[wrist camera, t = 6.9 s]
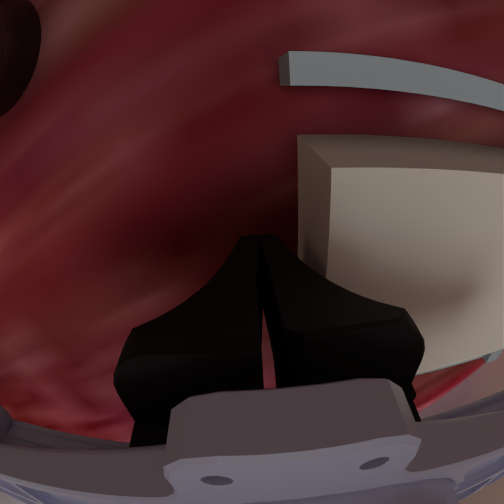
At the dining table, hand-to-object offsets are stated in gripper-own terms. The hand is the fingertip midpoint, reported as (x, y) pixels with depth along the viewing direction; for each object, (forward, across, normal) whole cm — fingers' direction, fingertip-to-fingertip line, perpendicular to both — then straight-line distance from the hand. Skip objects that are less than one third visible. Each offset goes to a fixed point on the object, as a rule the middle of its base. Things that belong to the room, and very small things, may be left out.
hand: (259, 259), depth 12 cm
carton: (+2, -7, 0) cm, 7 cm away
